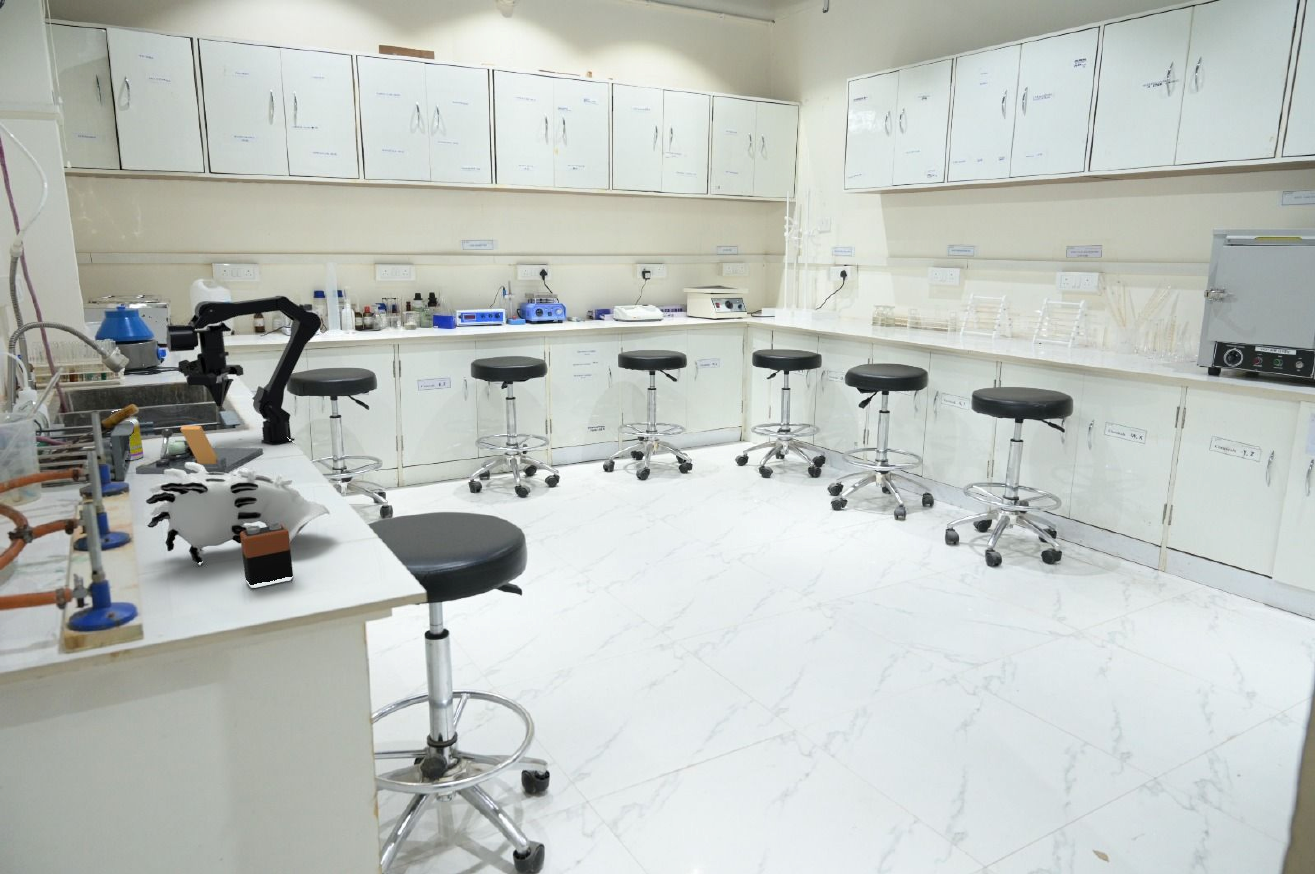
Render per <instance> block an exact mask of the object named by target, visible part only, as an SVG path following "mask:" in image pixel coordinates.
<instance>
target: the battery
mask: <svg viewBox="0 0 1315 874" xmlns="http://www.w3.org/2000/svg"><path fill="white" fill-rule="evenodd" d="M240 538H241V543H240V545H241V546H240V547H241V553H242V562H243V570H244V579H245V578H246V580H247V581H248V582H249V584H250V585H254V584H257V583H262V582H270V581H273V580H274V581H275V580H277V579H282V578H285V577H292V576H293V577H294V570H293V563H292V561H293V560H292V551H291V541H290V540H289V532H288V530H287V529H286V528H285V527H284V526H283V525H281V524H280V523H273V524H270V526H268V527H267V526H263V527H260V526H259V525H251V526H250V527H247V528H246V531H242V532H241V533H240ZM246 580H245V581H246Z"/></svg>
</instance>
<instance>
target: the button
mask: <svg viewBox="0 0 1315 874" xmlns="http://www.w3.org/2000/svg"><path fill="white" fill-rule="evenodd" d="M176 441H177V442H175V441H171V442H168V447H167V453H168V454H182V453H185V444H184V442H182V441H181V440H176Z"/></svg>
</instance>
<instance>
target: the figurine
mask: <svg viewBox="0 0 1315 874" xmlns="http://www.w3.org/2000/svg"><path fill="white" fill-rule="evenodd" d="M185 468H187V469H190V470H194V471H196V472H198V473H190V474H187V473H186V472H185V471H184V470H178V469H174V468H172V469H167V470H164V474H163V475H165V476H169V477H170V476H171V477H173V476H175V477H176V478H179V482H165V483H157V484H155V485H154V486H153V487H151V488H149V489H148V490H149V492H150V493H153V495H152V496H151V497H149V498H147V499H146V502H145V503H146V504H148V505H153V504H154V505H155V504H156V503H158V502H163V503H161V504H160V505H155V507H154V509H153V510H152V511H151V512H150V516H154V517H152V518H151V521H150V522H149V523H148V524H147V528H152V529H153V528H155V527H156V526H158V524H159V522H163V521H164V520H168V527H167V530H166V534H167V536H166V540H165V542H164V543H165V544H166V547H167V548H166V549H167V552H172V550H174V547H175V543H174V541H175V540H176V536H178V537H180V538H181V539H183V540H184V541H185V542H187V543H188V544H189V545H190V547H189V550H188V552H189V553H190V556H191V559H192V561H193V562H195V563H196V562H197V563H196V564H198V563H199V562H202V561H203V557H201V556H199V555H200V553H199V551H201V550H203V549H204V548H207V547H217V546H221V545H223V544H225V543H227V542H229V541H234V542H236V543H238V544H241V538H240V533H241V532H242V531H246V528H247V527H250V526H252V525H251V524H253V523H257V522H260V523H263V524H265V527H268V526H270V524H273V523H280V524H281V525H283V526H284V527H285V528H286V529H287V530H288V532H289V540H290V542H291V541H292V540H294V538H295V537H296V536H297V535H298V534H299V533H300V532H301V531H302V530H303V529H304V528H305V526H307V525H308V523H310V522H311V521H312V520H314V519H315V518H318V517H320V516H322V515H325V514H328V515H330V511H329V510H328V508H327V507H326V506H325V505H324V504H321V503H318V502H315V501H309V500H307V499H305V497H303V496H301V494H300V491H298V490H297V489H294V488H293V487H290V486H289V485H291V484H292V483H293V479H291V478H290V479H285V478H283V476H282V475H281V474H276V479H274V478H271V477H268V476H265V475H261V474H260V475H258V474H257V472H256V470H252V469H250V468H246V467H241V468H239V469H236V470H235V471H233V472H232V473H229V472H228V473H222V472H209V473H208V472H207V471H206V470H205V467H204V466H203V465H200V464H197V463H194V462H186V463H185ZM160 491H162V492H161V493H158V492H160ZM154 493H156V494H154ZM244 524H250V525H244ZM200 549H201V550H200ZM203 562H204V561H203Z"/></svg>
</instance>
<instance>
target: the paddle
mask: <svg viewBox="0 0 1315 874" xmlns="http://www.w3.org/2000/svg"><path fill="white" fill-rule="evenodd" d="M180 432H181V434H182V435H183V437H184V439H185V440H186V441H187V443H188V445H189V447H190V448H191V450H192V452H193V454H194V456H195V458H196V460H197V464H200V465H203V466H204V467H218V463H217V460H218V458H217V456H216V454H215V452H214V451H213V449H212V448H213V447H212V445H211V443H210V441H209V439H208V437H207V435H206V432H205V431H204V429H203V427H202V426H201V425H182V426H181V428H180Z"/></svg>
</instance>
